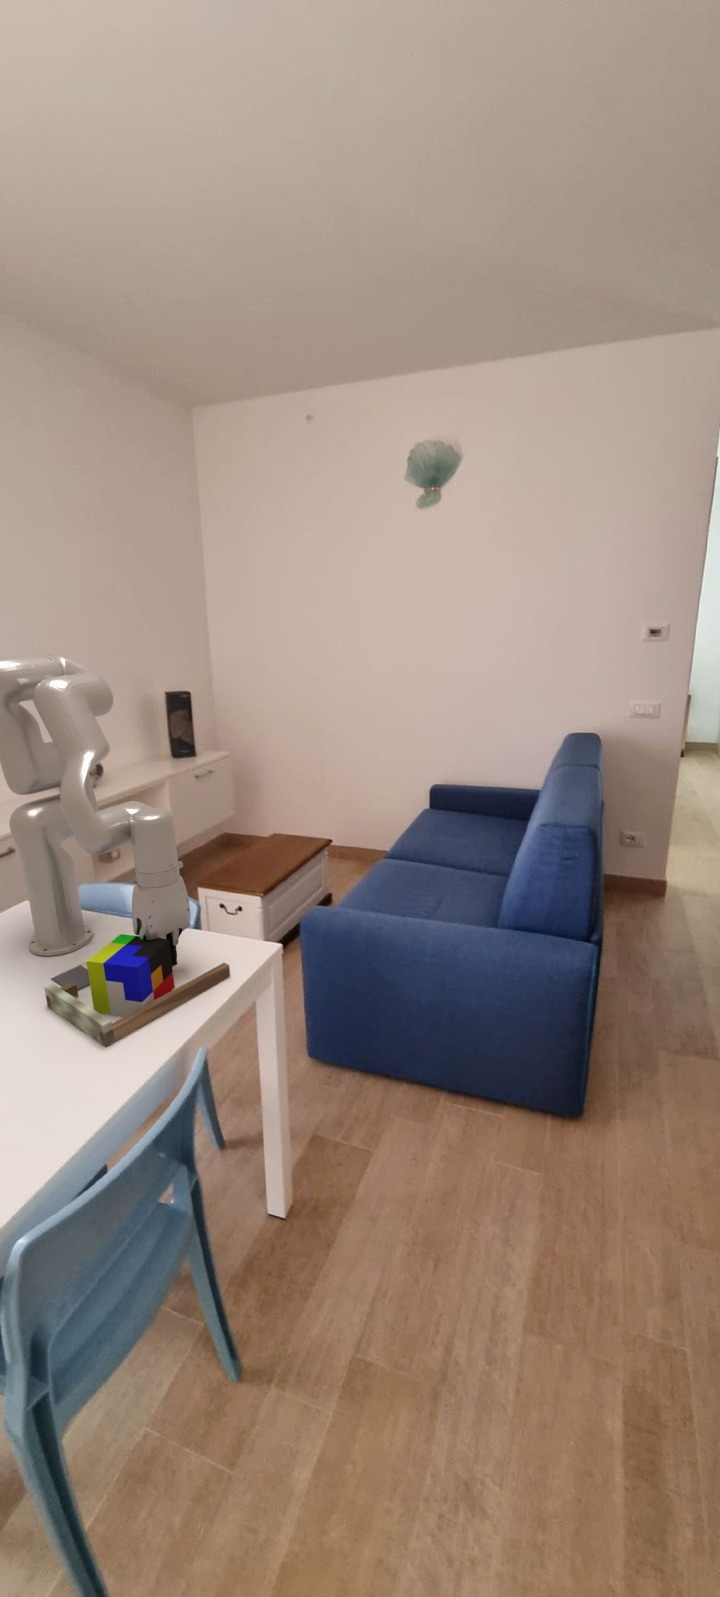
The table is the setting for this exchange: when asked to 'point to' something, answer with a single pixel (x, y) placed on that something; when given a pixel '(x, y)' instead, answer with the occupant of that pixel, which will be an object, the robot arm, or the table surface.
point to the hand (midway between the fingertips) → (168, 964)
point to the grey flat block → (74, 977)
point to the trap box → (111, 1032)
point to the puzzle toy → (130, 974)
